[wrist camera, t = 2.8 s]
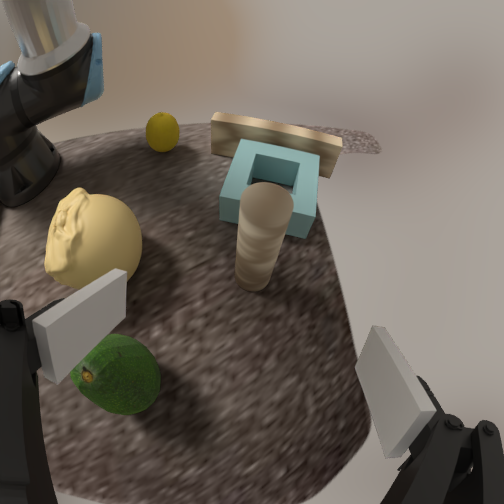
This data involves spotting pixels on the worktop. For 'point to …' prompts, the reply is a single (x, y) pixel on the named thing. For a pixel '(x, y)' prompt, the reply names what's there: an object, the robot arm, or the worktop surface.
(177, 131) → the lemon
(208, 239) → the worktop surface
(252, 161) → the socket block
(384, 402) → the robot arm
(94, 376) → the avocado
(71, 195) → the sculpture
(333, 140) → the oak wall
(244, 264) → the dowel
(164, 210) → the worktop surface
